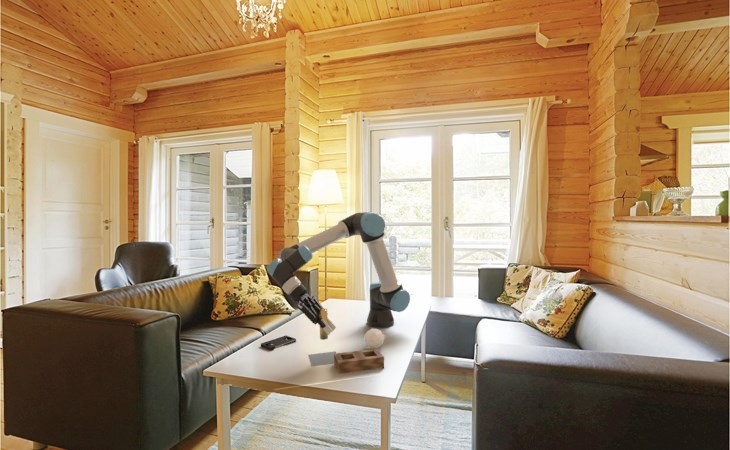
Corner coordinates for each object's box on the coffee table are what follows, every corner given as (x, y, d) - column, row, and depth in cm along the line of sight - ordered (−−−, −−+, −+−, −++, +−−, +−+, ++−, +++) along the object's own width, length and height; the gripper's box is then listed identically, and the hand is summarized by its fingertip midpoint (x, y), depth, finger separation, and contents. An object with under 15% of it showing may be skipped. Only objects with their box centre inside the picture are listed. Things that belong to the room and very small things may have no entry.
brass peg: (327, 336, 143) (326, 308, 143) (328, 339, 140) (327, 310, 140) (319, 337, 142) (318, 308, 142) (320, 340, 139) (320, 310, 139)
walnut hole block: (377, 359, 141) (376, 348, 141) (384, 368, 132) (384, 356, 132) (334, 364, 136) (334, 353, 136) (338, 374, 127) (338, 362, 127)
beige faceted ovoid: (377, 350, 146) (392, 345, 155) (373, 328, 148) (388, 324, 158) (362, 352, 151) (377, 347, 160) (358, 331, 153) (373, 327, 163)
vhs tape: (270, 352, 151) (270, 347, 151) (260, 347, 156) (260, 343, 156) (296, 342, 162) (296, 338, 162) (286, 339, 167) (286, 335, 167)
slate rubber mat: (335, 352, 149) (335, 351, 149) (341, 363, 137) (341, 362, 137) (308, 355, 145) (308, 354, 145) (311, 367, 134) (311, 366, 134)
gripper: (298, 291, 153) (334, 330, 149) (279, 299, 137) (318, 344, 133) (309, 280, 151) (345, 319, 147) (291, 287, 136) (330, 331, 131)
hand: (332, 331), depth 140 cm, fingers closed on brass peg, 3 cm apart
